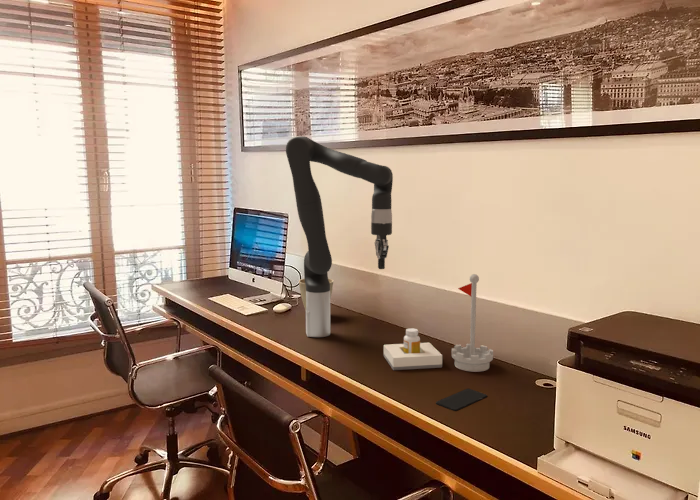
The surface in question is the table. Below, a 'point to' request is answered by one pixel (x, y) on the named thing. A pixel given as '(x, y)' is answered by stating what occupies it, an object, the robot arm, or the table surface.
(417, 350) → the supplement bottle
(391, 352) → the socket block
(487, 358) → the flag stand
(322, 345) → the table surface
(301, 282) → the plant pot
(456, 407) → the smartphone
